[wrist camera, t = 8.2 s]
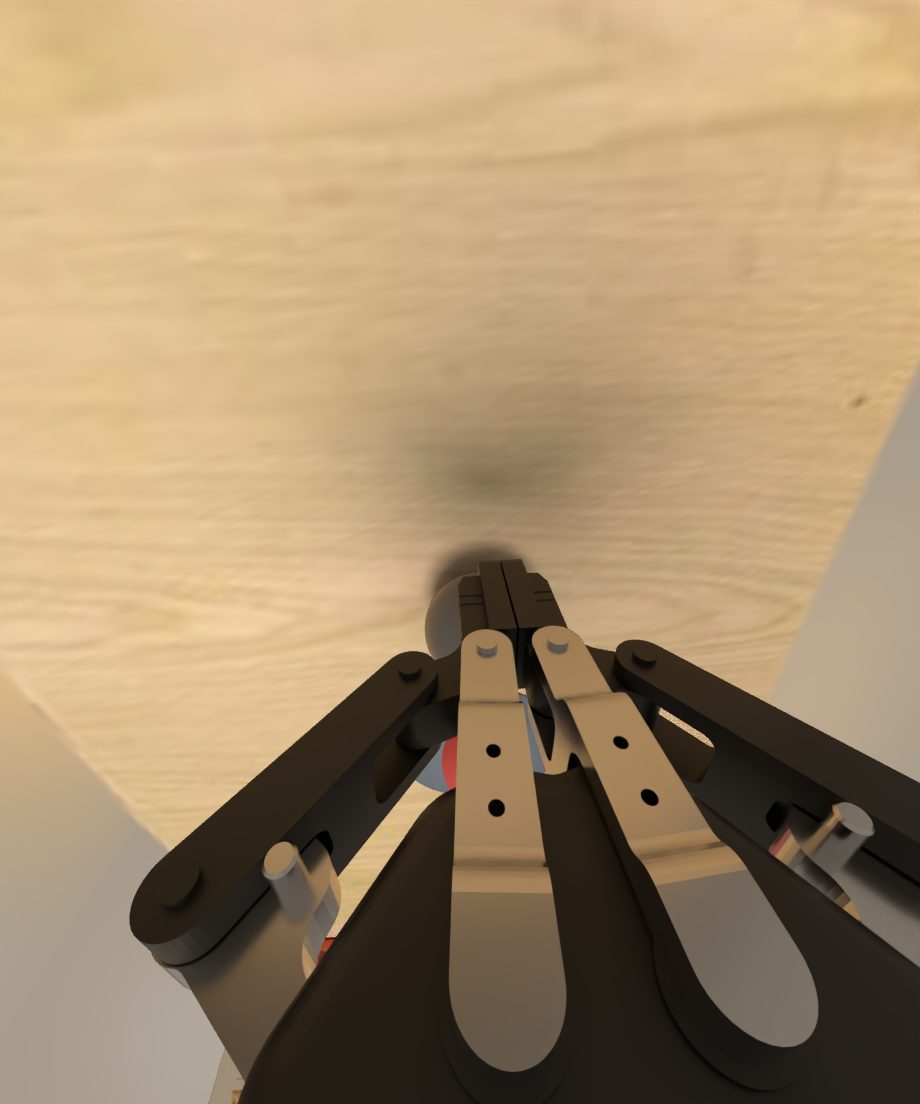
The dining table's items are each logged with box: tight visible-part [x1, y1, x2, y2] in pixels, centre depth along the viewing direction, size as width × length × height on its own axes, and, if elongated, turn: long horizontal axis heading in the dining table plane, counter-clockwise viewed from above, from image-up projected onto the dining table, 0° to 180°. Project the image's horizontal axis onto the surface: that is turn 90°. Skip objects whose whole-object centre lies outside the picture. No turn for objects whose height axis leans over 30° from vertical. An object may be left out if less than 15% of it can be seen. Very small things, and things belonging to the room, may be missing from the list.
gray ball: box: [425, 572, 477, 660], centre depth 20 cm, size 6×6×6 cm
